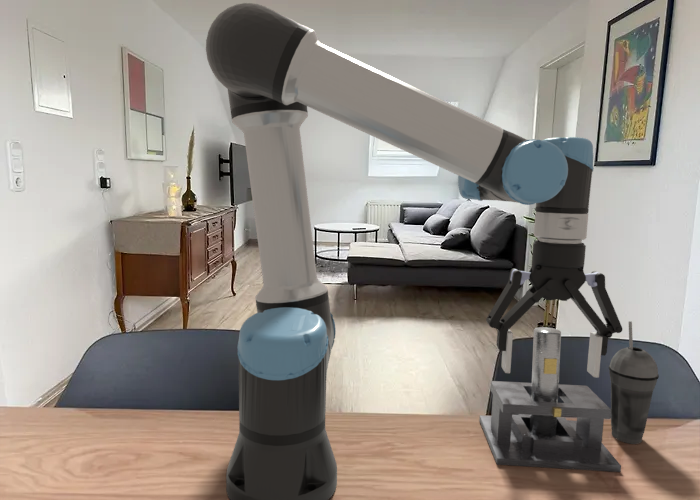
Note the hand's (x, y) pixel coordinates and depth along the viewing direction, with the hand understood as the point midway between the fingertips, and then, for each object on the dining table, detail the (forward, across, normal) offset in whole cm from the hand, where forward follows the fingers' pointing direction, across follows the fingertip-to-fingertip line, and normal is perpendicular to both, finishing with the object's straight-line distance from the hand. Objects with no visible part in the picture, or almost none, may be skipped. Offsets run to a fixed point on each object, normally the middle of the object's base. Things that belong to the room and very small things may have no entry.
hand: (548, 372), depth 78 cm
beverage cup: (+12, +15, +4) cm, 20 cm away
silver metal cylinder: (+11, 0, 0) cm, 11 cm away
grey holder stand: (+12, 0, 0) cm, 12 cm away
